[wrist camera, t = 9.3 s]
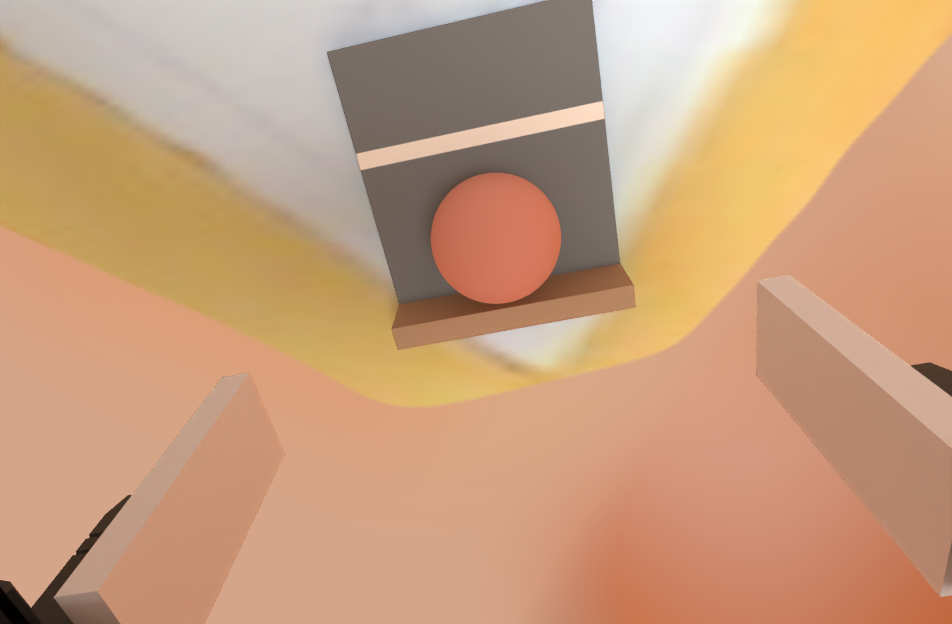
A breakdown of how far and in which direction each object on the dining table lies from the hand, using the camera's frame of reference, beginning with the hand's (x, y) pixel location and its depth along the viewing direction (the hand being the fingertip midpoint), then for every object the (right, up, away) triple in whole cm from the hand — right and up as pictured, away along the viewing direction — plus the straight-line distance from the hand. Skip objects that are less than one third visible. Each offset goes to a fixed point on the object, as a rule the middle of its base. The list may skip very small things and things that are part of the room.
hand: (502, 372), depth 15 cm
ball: (0, +6, +14) cm, 16 cm away
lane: (0, +8, +14) cm, 16 cm away
